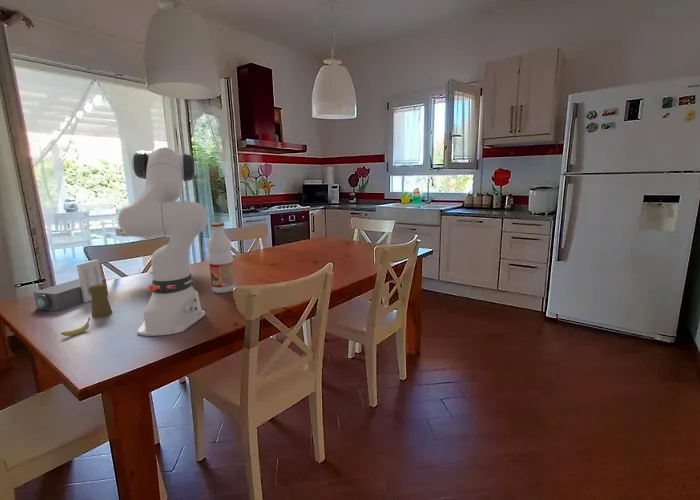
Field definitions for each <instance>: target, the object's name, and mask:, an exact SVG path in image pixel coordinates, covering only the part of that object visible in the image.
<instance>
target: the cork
mask: <svg viewBox="0 0 700 500" xmlns="http://www.w3.org/2000/svg"><path fill="white" fill-rule="evenodd" d="M107 290H108V286H107V287H106V285H105V284H94V285H91V286H90V287H89V293H90V294H91V295H92V301H91V317H92V318H103V317H107V316H110V315H112V314H113V310H112V308H111V305H110V301H109V299H108V296H107V294H106V291H107Z"/></svg>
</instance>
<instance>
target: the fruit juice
mask: <svg viewBox="0 0 700 500" xmlns="http://www.w3.org/2000/svg"><path fill="white" fill-rule="evenodd" d="M210 226H211V232H212V233H211V237H210V239H208V242H207V249H208V251H209V255H208V263H209V264H208V265H209V274H210V282H211V290H212V292H214V293H216V294H217V293H218V294H222V293H229V292H232V291H234V290H233V288H235V289H236V278H235V277H236V276H235V266H234V256H233V253H232V251H231V250H232V241H231V239H230V238H229V237H228V236H227V235H226V232H225V229H224V228H225V223H224V222H212V223H211V225H210Z"/></svg>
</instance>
